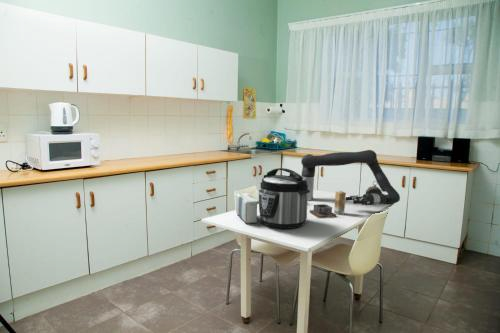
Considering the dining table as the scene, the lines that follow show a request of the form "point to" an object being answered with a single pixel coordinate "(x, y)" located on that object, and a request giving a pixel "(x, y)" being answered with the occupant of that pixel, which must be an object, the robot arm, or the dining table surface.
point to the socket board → (322, 211)
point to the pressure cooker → (283, 199)
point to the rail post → (339, 203)
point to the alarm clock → (373, 190)
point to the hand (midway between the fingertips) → (349, 200)
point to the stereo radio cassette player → (247, 207)
